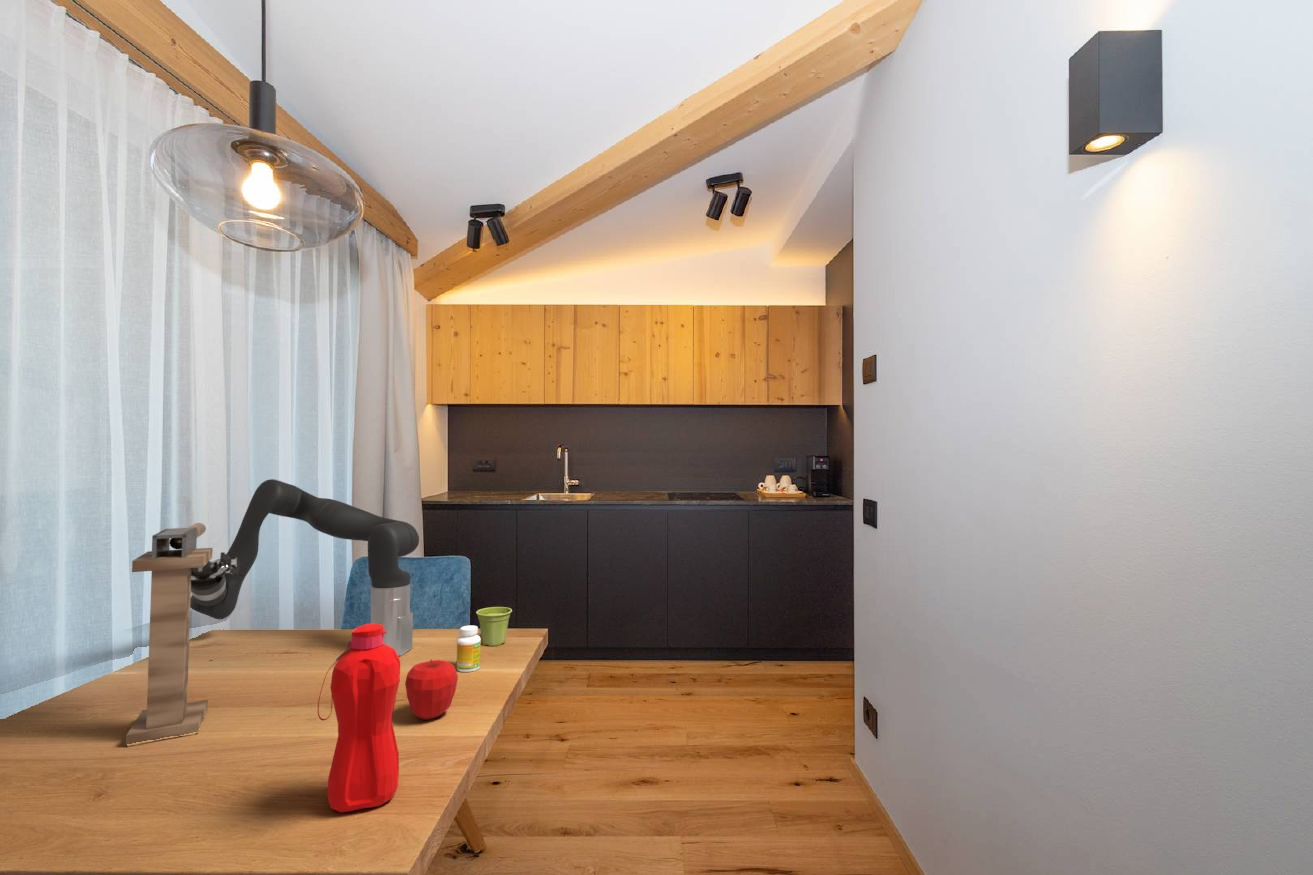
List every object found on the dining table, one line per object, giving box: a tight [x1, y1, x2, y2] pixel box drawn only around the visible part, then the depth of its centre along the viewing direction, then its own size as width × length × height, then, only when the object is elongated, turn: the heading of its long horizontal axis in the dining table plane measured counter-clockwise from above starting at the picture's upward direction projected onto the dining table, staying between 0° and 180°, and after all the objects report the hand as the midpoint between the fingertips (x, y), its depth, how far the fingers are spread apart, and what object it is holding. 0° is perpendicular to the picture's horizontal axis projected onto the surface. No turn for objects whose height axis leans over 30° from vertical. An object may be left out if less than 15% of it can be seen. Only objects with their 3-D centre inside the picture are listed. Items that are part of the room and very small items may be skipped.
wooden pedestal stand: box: [125, 547, 213, 746], centre depth 111 cm, size 12×10×32 cm
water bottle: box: [317, 623, 401, 814], centre depth 88 cm, size 9×11×25 cm
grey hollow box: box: [151, 527, 198, 559], centre depth 112 cm, size 12×5×4 cm, turn 30°
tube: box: [169, 522, 207, 550], centre depth 125 cm, size 24×3×3 cm, turn 31°
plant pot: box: [475, 606, 513, 647], centre depth 162 cm, size 9×9×9 cm
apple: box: [404, 659, 459, 720], centre depth 116 cm, size 10×10×11 cm
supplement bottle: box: [456, 625, 482, 673], centre depth 142 cm, size 5×5×10 cm
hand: (199, 557), depth 138 cm, fingers open, 8 cm apart
